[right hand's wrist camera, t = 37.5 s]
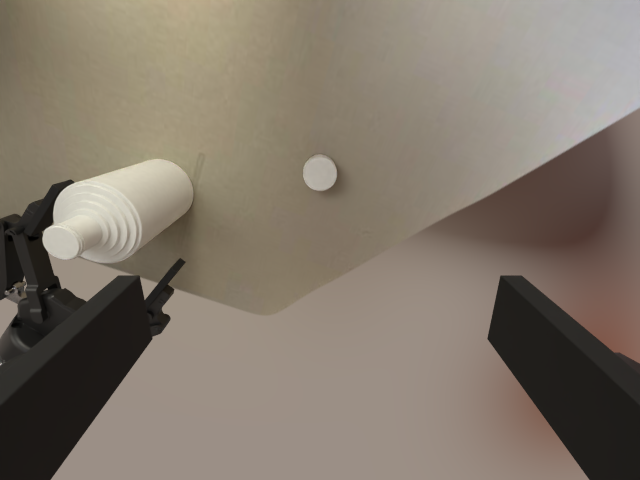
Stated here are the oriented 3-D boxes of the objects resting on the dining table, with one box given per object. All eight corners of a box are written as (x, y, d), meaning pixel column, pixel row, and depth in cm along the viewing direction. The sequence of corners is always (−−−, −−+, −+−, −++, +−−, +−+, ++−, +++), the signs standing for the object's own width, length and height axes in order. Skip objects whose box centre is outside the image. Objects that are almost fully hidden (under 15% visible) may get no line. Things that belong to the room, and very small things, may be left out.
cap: (299, 159, 41) (298, 162, 39) (331, 149, 40) (332, 152, 38) (309, 190, 42) (308, 195, 40) (340, 181, 42) (341, 185, 39)
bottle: (206, 191, 42) (132, 245, 25) (168, 230, 44) (76, 305, 27) (156, 145, 40) (41, 171, 24) (119, 188, 42) (-12, 242, 25)
